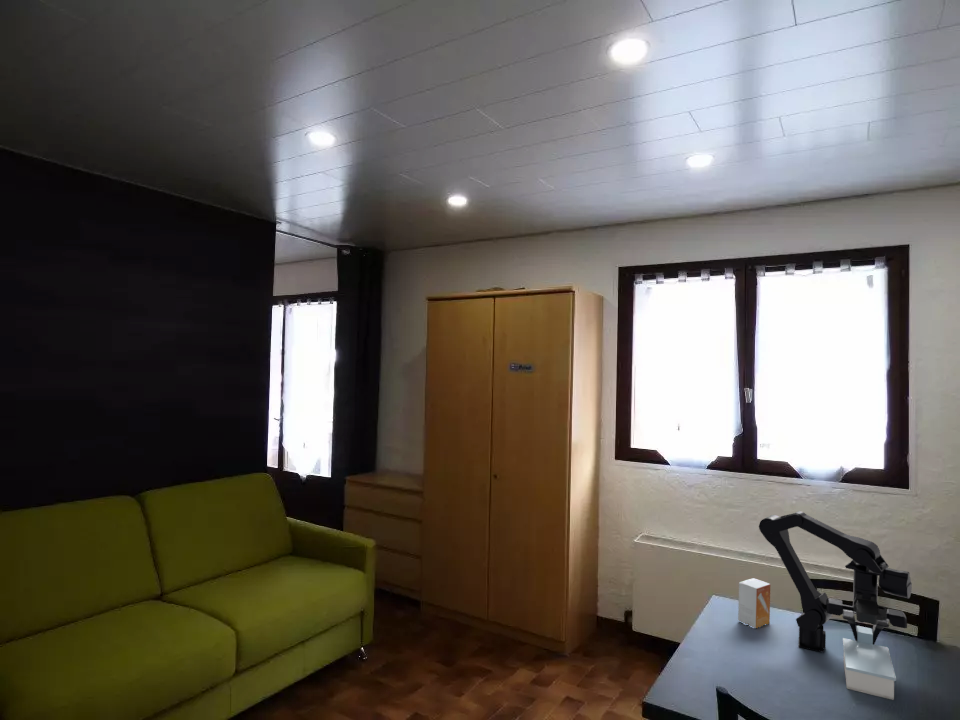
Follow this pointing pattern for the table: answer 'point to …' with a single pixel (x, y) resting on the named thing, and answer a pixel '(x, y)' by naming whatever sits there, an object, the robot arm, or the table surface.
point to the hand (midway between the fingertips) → (864, 642)
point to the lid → (868, 656)
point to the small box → (754, 602)
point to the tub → (869, 684)
